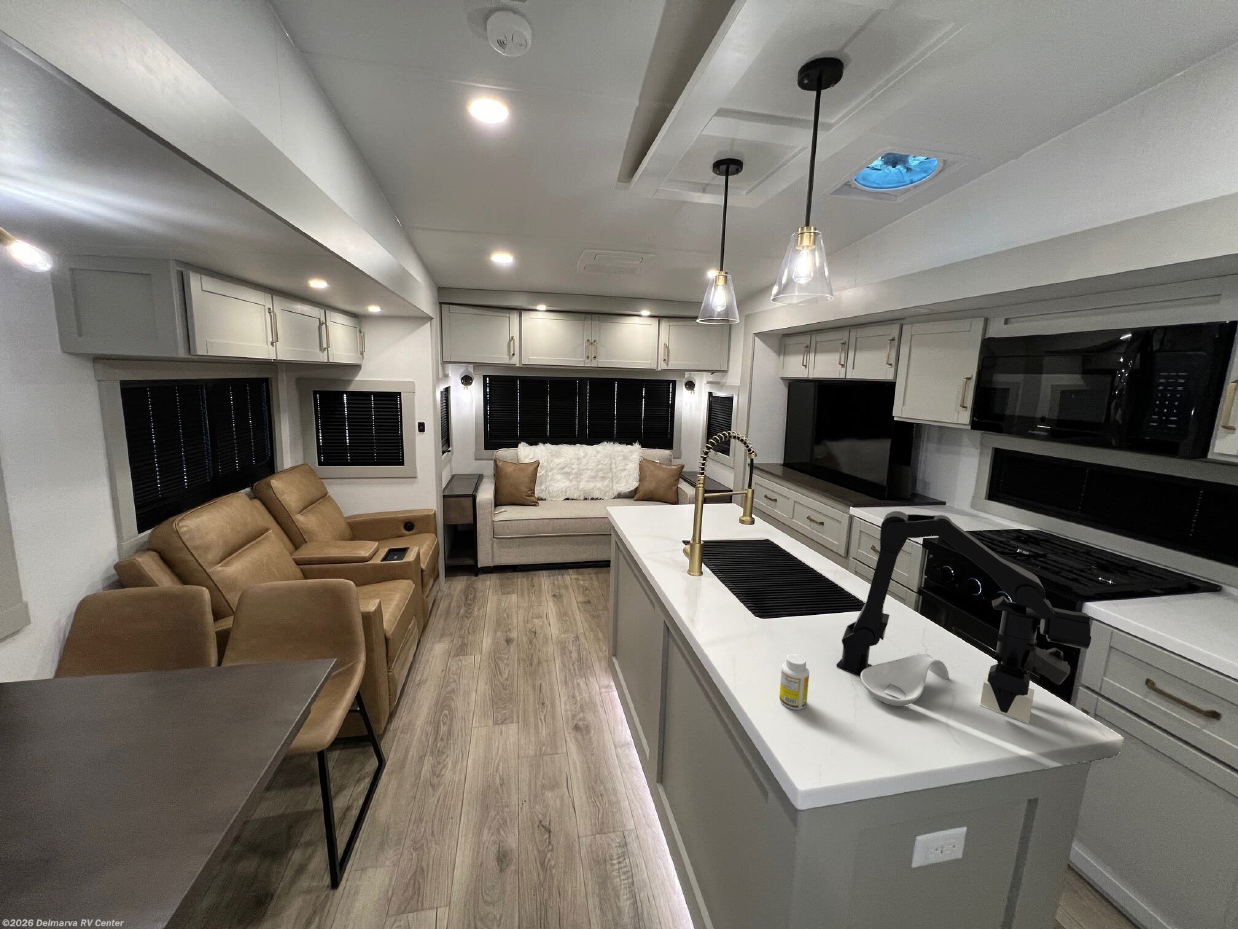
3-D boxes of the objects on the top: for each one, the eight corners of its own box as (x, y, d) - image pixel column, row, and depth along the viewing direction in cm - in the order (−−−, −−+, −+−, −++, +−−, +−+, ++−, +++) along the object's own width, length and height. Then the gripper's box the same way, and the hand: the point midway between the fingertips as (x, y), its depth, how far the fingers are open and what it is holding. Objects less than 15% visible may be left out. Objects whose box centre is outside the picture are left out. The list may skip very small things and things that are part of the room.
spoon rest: (896, 721, 99) (900, 689, 98) (847, 689, 109) (850, 660, 108) (964, 692, 109) (968, 663, 108) (913, 665, 119) (916, 638, 118)
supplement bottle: (798, 694, 106) (802, 651, 105) (811, 710, 101) (815, 665, 99) (774, 695, 106) (778, 652, 104) (785, 711, 100) (789, 666, 99)
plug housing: (1029, 721, 97) (1033, 699, 96) (980, 703, 103) (983, 682, 102) (1030, 711, 100) (1034, 689, 100) (983, 694, 106) (986, 673, 105)
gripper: (1070, 667, 87) (1055, 744, 89) (1071, 631, 100) (1058, 699, 103) (993, 643, 94) (981, 715, 97) (1003, 613, 108) (993, 677, 110)
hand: (1006, 701), depth 101 cm, fingers open, 9 cm apart
